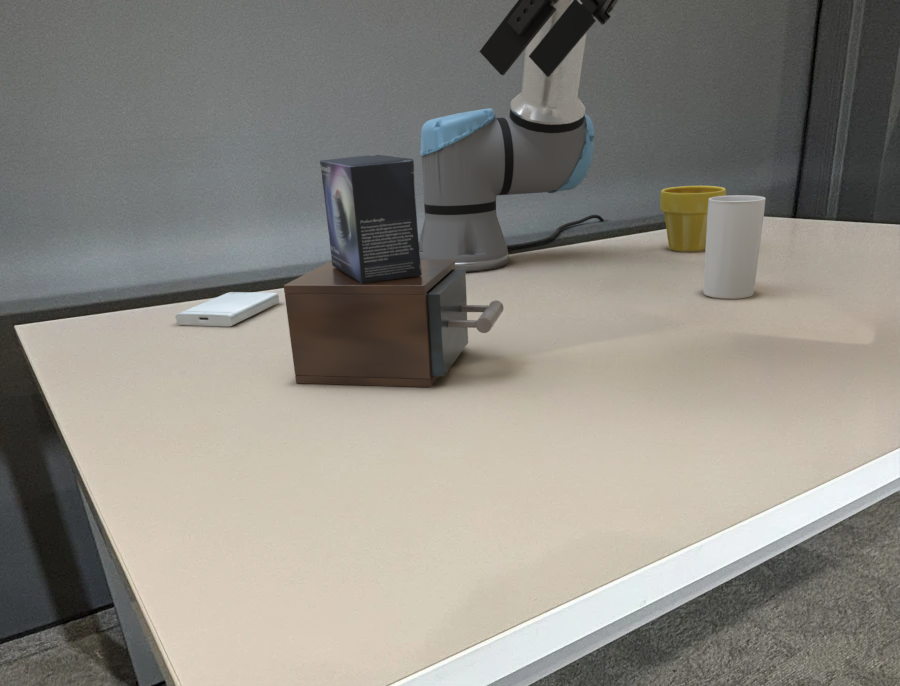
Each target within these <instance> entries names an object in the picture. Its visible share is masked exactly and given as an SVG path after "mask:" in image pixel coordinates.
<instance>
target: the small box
mask: <svg viewBox="0 0 900 686" xmlns="http://www.w3.org/2000/svg"><path fill="white" fill-rule="evenodd" d="M319 164H320V171H321V180H322V187H323V188H322V189H323V197H324V198H323V199H324V205H325V214H326V223H327V232H328V240H329V248H330V257H331V261H332V266H334V267H336V268H337V269H339V270H341V271H342V272H344V273H345V274H347V275H349V276H350V277H352V278H354V279H355V280H357V281H358V282H360V283H361V284H363V283H370V282H377V281H385V280H393V279H400V278H407V277H416V276H421V275H422V269H421V260H420V251H419V240H420V239H419V226H418V214H417V203H416V186H415V161H414V159H413V158H409V157H408V158H407V157H398V156H390V155H384V154H383V155H382V154H369V155H360V156H349V157H340V158H331V159H321V160H320V161H319Z"/></svg>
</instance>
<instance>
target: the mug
mask: <svg viewBox="0 0 900 686" xmlns="http://www.w3.org/2000/svg"><path fill="white" fill-rule="evenodd" d="M766 199H767V198H766V197H764V196H761V195H748V194H747V195H746V194H745V195H743V194H742V195H741V194H734V195H733V194H732V195H726V196H717V197H711V198H709V203H708V214H707V232H706V249H705V250H704V251H705V252H704V265H703V267H704V268H703V286H702V287H703V289H702V291H703V292H702V293H703V295H704V296H706V297H709V298H714V299H720V300H721V299H723V300H739V299H740V300H741V299H746V298H750V297H752V296H753V295H754V293H755V286H756V278H757V273H758V272H757V271H758V265H759V257H760V247H761V242H762V241H761V240H762V234H763V225H764V220H765V219H764V217H765V209H766Z"/></svg>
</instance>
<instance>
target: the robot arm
mask: <svg viewBox="0 0 900 686" xmlns="http://www.w3.org/2000/svg"><path fill="white" fill-rule="evenodd" d="M618 1H619V0H517V2H515V4H514V5H513V7H512V8H511V9H510V11H509V12H508V13H507V15H505V17H504V18H503V20H502V21H501V22H500V23H499V25H498V26H497V28H496V29H495V30H494V31H493V33H492V34H491V35H490V36H489V38H488V40H486V42H485V43H484V45H483V46H482V47H481V49H480V50H479V53H480V54H481V55H482V56H483V57H484V59H486V61H488V63H489V64H490V65H491V66H492V67H493V68H494V69H495V70H496V71H497V72H498V74H499V75H501V76H505V75H506V73H507V72H508V71H509V69H510V68H511V67H512V66H513V65H514V64H515V62H516V61H517V60H518V59H519V57H520V56H521V55H522V53H523V52H524V51H525V52H524V61H523V71H522V82H521V90H520V91H521V92H519V93H518V94H517V95H516V96H515V97H514V98H512V100H511V101H510V105H509V115H508V116H506V117H505V116H504V117H496V113H495V111H494V109H493V108H490V107H489V108H488V107H487V108H482V109H476V110H469V111H464V112H459V113H454V114H449V115H443V116H440V117H437V118H431V119H429V120H426V121H425V122H424V123H423V125H422V127H421V129H420V151H419V155H420V157H421V171H422V172H421V173H422V190H423V191H422V192H423V205H424V206H423V207H424V209H423V210H424V221H423V225H422V229H421V232H420V235H419V236H420V237H419V239H418V240H419V251H420V260H455V270H465V272H466V273H468V272H469V273H471V272H480V271H487V270H492V269H493V270H494V269H497V268H501V267H503V266H506V265H507V264H508V263H509V250H514V249H521V248H527V247H531V246H535V245H540V244H543V243H547V242H549V241H552V240H553V239H554V238H555V237H557V236H558V235H559V234H560V231H562V230H563V229H566V228H569V227H572V226H576V225H580V224H582V223H585V222H587V221H590V220H592V219H597V220H598V221H600V222H605V220H604V218H603V217H602V216H601V215H599V214H591V215H588V216H586V217H584V218H581V219H579V220H573V221H570V222H566V223H564V224H562V225H560V226H559V227H557V228H556V230H555V232H553V233H552V234H551V235H549V236H547V237H544V238H541V239H537V240H532V241H528V242H522V243H516V244H507V242H506V239H505V237H504V234H503V231H502V228H501V224H500V221H499V218H498V215H497V196H510V195H526V194H527V195H528V194H541V193H548V194H555V193H557V192H563V191H570V190H574V189H575V188H577V187H578V186H579V185H581V184H582V182H583V181H584V180H585V178H586V176H587V175H588V173H589V170H590V167H591V164H592V161H593V157H594V151H595V142H594V138H595V128H594V127H595V126H594V124H593V120H592V119H591V117H590V116H589V115H588V114H586V106H585V104H584V103H583V102H582V100H581V99H580V98H579V97H578V95H579V89H580V84H581V83H580V82H581V75H582V68H583V62H584V55H585V47H586V41H587V35H588V34H587V33H588V31H589V30H590V29H591V28H592V26H593V25H594V24H595V22H598V23H600V24H601V25H602V26H603V25H605V24H606V23H607V22H608V21H609V19H610V18H611V15H610V13H611V12H612V11H613V10H614V8H615V6H616V4H617V3H618Z"/></svg>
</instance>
